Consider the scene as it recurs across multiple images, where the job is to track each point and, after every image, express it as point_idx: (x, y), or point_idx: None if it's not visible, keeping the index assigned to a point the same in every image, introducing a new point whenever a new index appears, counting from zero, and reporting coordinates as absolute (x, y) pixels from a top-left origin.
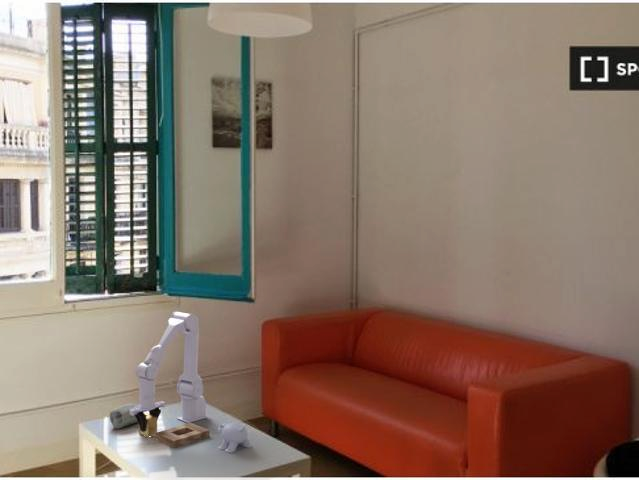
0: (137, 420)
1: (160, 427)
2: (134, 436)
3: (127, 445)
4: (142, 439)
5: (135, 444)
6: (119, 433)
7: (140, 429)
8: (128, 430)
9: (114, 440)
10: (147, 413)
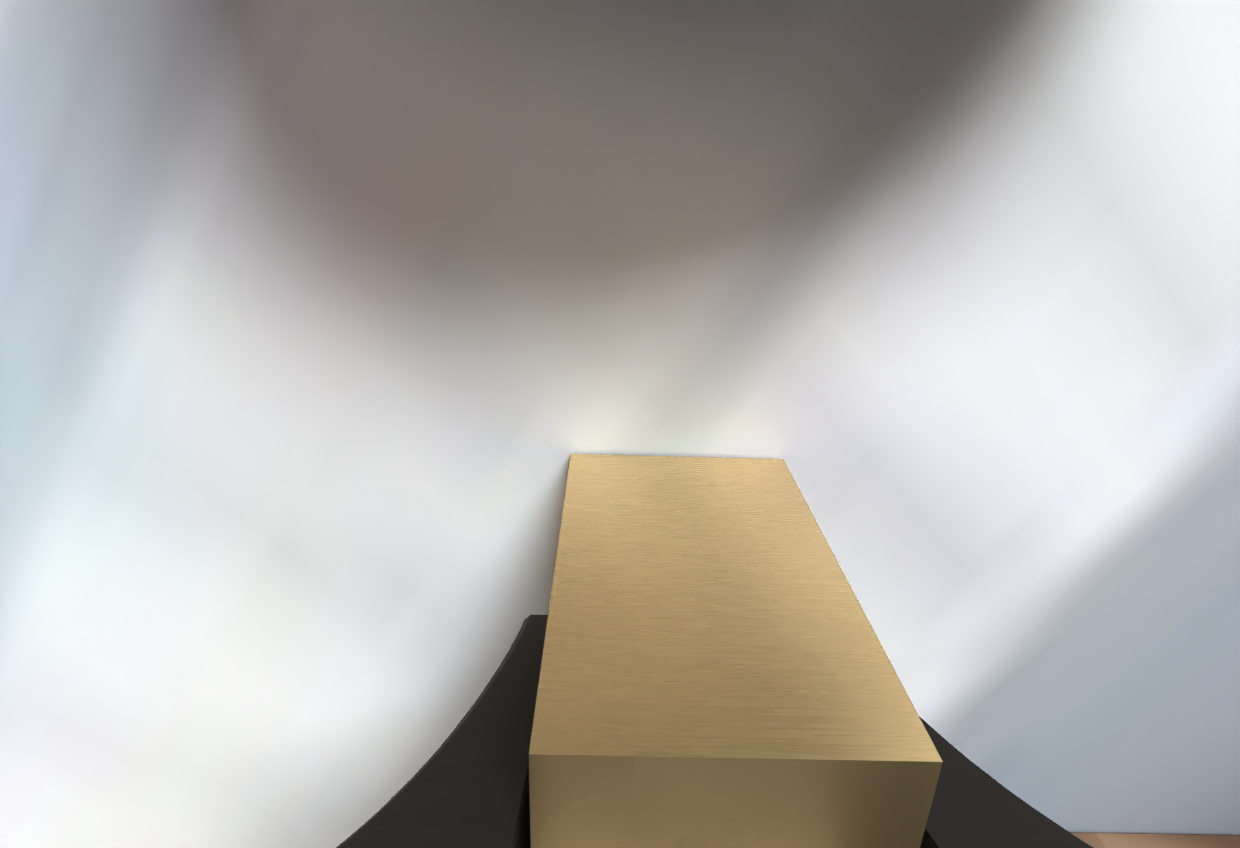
0: (414, 781)
1: (1083, 465)
2: (427, 512)
3: (139, 748)
4: (459, 707)
5: (264, 790)
6: (254, 126)
7: (521, 632)
8: (520, 105)
9: (10, 423)
10: (924, 779)
